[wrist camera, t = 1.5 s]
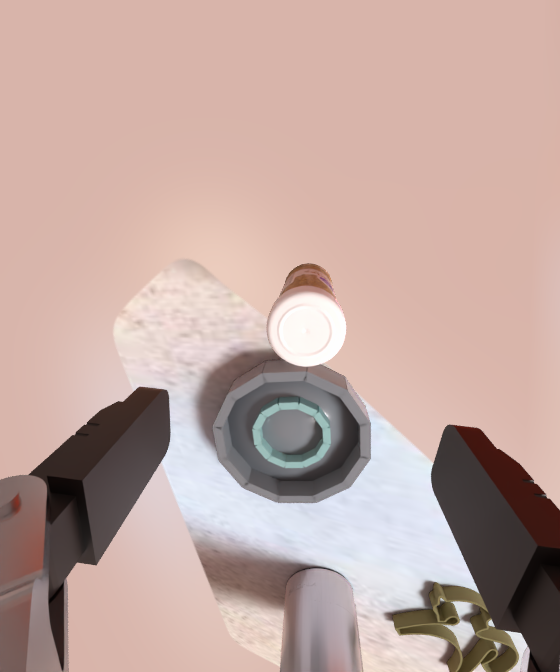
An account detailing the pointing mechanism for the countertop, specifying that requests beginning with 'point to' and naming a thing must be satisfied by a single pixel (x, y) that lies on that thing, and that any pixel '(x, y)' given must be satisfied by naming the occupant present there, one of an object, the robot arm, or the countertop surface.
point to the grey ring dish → (293, 432)
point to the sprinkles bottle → (306, 318)
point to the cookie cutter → (447, 615)
